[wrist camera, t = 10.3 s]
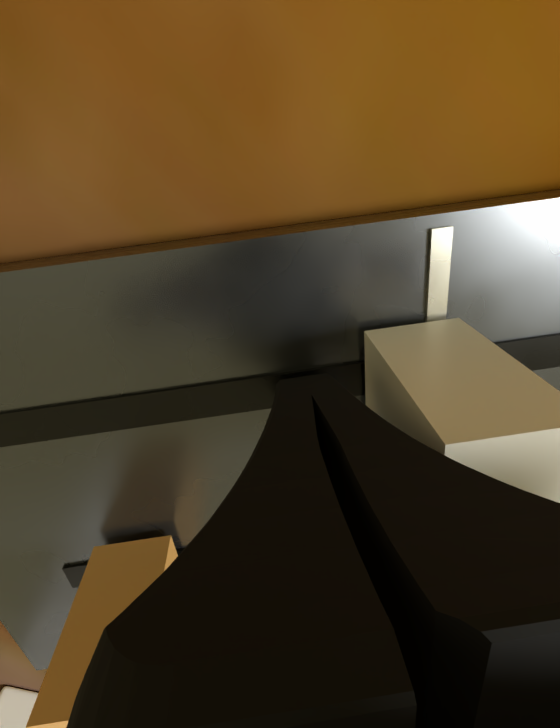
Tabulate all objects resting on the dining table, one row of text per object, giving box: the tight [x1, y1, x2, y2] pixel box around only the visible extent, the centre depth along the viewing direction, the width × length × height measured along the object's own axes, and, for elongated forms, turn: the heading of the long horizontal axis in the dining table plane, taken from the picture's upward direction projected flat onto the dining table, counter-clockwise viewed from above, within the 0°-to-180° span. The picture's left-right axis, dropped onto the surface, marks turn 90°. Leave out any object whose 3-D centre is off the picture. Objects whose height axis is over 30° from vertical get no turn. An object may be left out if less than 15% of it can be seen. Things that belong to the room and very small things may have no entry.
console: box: [0, 189, 560, 670], centre depth 13 cm, size 15×22×1 cm
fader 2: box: [364, 318, 560, 503], centre depth 9 cm, size 3×2×4 cm
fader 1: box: [26, 535, 178, 728], centre depth 11 cm, size 3×2×4 cm
